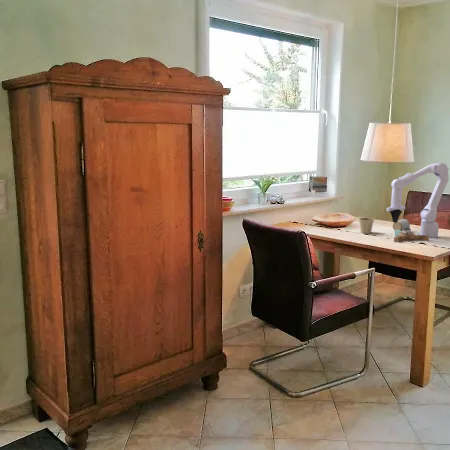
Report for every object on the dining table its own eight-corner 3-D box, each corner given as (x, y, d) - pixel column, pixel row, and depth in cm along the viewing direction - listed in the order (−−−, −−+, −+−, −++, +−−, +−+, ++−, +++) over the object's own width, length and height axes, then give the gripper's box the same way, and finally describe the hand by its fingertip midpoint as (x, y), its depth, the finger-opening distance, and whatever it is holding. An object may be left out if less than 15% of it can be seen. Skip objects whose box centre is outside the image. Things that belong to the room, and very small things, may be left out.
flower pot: (354, 232, 305) (355, 218, 304) (363, 230, 311) (364, 217, 310) (367, 234, 298) (368, 220, 297) (376, 232, 304) (377, 219, 303)
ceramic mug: (391, 231, 309) (392, 219, 308) (399, 229, 314) (400, 218, 312) (405, 234, 301) (407, 222, 299) (413, 232, 305) (415, 220, 304)
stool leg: (408, 238, 286) (409, 232, 285) (405, 238, 286) (405, 232, 285) (398, 234, 298) (398, 228, 298) (394, 234, 298) (395, 228, 297)
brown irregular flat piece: (422, 237, 291) (423, 232, 291) (432, 242, 279) (432, 236, 278) (386, 237, 291) (387, 232, 290) (395, 242, 278) (395, 237, 277)
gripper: (399, 198, 297) (397, 220, 300) (382, 199, 290) (381, 222, 292) (408, 199, 292) (407, 222, 294) (392, 201, 284) (390, 224, 286)
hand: (395, 222), depth 293 cm, fingers closed
